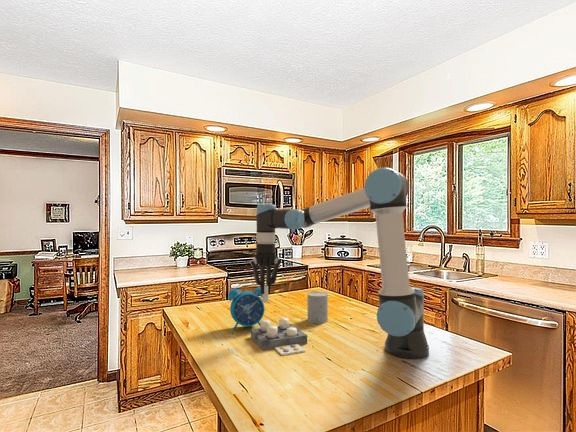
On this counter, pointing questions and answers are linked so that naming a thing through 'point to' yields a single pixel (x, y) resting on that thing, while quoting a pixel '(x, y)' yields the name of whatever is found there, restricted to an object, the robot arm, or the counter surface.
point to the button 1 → (264, 325)
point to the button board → (277, 338)
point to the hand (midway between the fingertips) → (265, 301)
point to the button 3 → (284, 323)
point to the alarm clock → (246, 306)
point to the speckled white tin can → (317, 307)
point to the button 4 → (291, 331)
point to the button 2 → (272, 331)
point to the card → (289, 349)
